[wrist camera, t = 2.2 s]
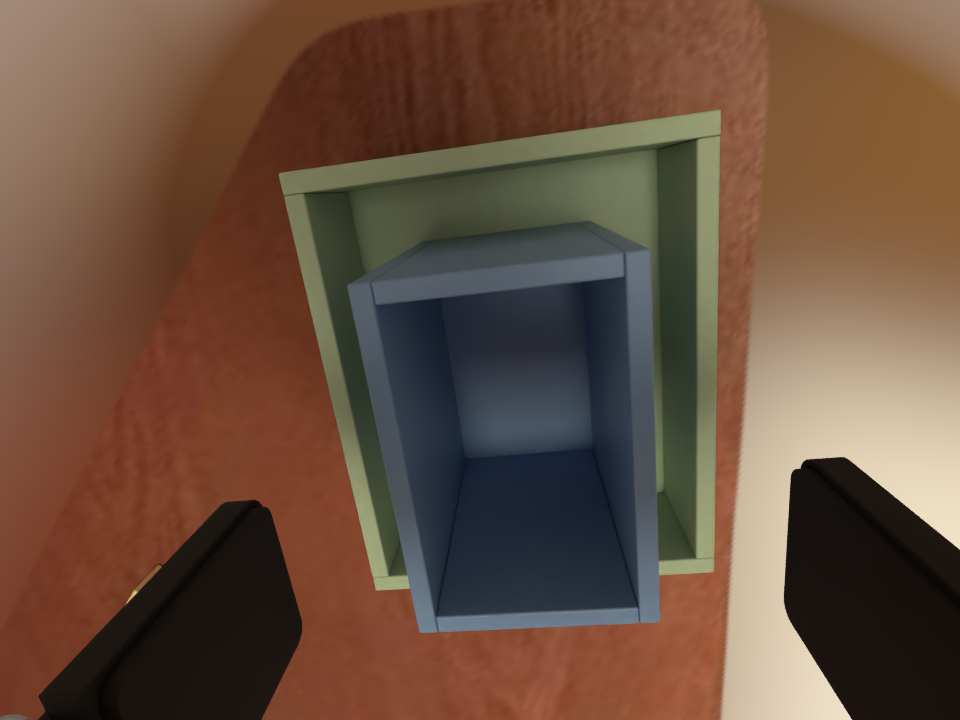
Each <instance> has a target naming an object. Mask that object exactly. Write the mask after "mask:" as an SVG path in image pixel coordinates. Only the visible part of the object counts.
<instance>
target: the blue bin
mask: <svg viewBox="0 0 960 720" xmlns="http://www.w3.org/2000/svg"><path fill="white" fill-rule="evenodd" d="M347 288H348V293H349V297H350V302H351V307H352V312H353V317H354V321H355V326H356V331H357V336H358V341H359V345H360V350H361V355H362V360H363V365H364V369H365V374H366V379H367V384H368V389H369V393H370V398H371V403H372V408H373V413H374V417H375V422H376V427H377V432H378V437H379V441H380V446H381V451H382V456H383V460H384V465H385V470H386V475H387V480H388V484H389V489H390V494H391V499H392V504H393V508H394V513H395V518H396V523H397V528H398V532H399V537H400V542H401V547H402V552H403V556H404V561H405V566H406V571H407V576H408V580H409V585H410V590H411V595H412V599H413V604H414V609H415V614H416V619H417V623H418V628H419V632H420V633H431V632H437V631H438V630H439V632H453V631H476V630H498V629H520V628H543V627H565V626H587V625H610V624H632V623H639V621H640V622H641V623H654V622H660V592H659V553H658V513H657V474H656V435H655V396H654V356H653V317H652V278H651V251H650V249H649V248H646V247H644V246H642V245H640V244H638V243H636V242H634V241H632V240H630V239H627V238H625V237H623V236H621V235H619V234H617V233H615V232H613V231H611V230H608V229H606V228H604V227H602V226H600V225H598V224H596V223H594V222H592V221H583V222H575V223H567V224H559V225H551V226H543V227H535V228H528V229H520V230H512V231H504V232H496V233H488V234H480V235H472V236H464V237H456V238H448V239H440V240H432V241H424V242H421V243H419V244H417V245H416V246H414V247H412V248H410V249H409V250H407V251H405V252H404V253H402V254H400V255H398V256H397V257H395V258H393V259H392V260H390V261H388V262H386V263H385V264H383V265H381V266H379V267H378V268H376V269H374V270H373V271H371V272H369V273H367V274H366V275H364V276H362V277H361V278H359V279H357V280H355V281H354V282H352V283H350V284H349V285H348V286H347Z"/></svg>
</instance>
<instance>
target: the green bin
mask: <svg viewBox="0 0 960 720" xmlns="http://www.w3.org/2000/svg"><path fill="white" fill-rule="evenodd" d="M720 133H721V111H720V110H713V111H706V112H699V113H692V114H685V115H678V116H671V117H664V118H657V119H650V120H643V121H637V122H630V123H623V124H616V125H609V126H602V127H595V128H588V129H581V130H574V131H567V132H560V133H553V134H546V135H540V136H533V137H526V138H519V139H512V140H505V141H498V142H491V143H484V144H477V145H470V146H463V147H456V148H449V149H443V150H436V151H429V152H422V153H415V154H408V155H401V156H394V157H387V158H380V159H373V160H366V161H359V162H352V163H346V164H339V165H332V166H325V167H318V168H311V169H304V170H297V171H290V172H283V173H279V179H280V183H281V187H282V191H283V195H285V196H284V200H285V204H286V208H287V212H288V217H289V221H290V225H291V229H292V234H293V238H294V242H295V247H296V251H297V255H298V259H299V264H300V268H301V272H302V276H303V281H304V285H305V289H306V293H307V298H308V302H309V306H310V311H311V315H312V319H313V323H314V328H315V332H316V336H317V340H318V345H319V349H320V353H321V358H322V362H323V366H324V370H325V375H326V379H327V383H328V387H329V392H330V396H331V400H332V405H333V409H334V413H335V417H336V422H337V426H338V430H339V434H340V439H341V443H342V447H343V452H344V456H345V460H346V464H347V469H348V473H349V477H350V481H351V486H352V490H353V494H354V499H355V503H356V507H357V511H358V516H359V520H360V524H361V528H362V533H363V537H364V541H365V546H366V550H367V554H368V558H369V563H370V567H371V571H372V575H373V579H374V583H375V588H376V590H394V589H410V585H409V580H408V576H407V571H406V566H405V561H404V556H403V552H402V547H401V542H400V537H399V532H398V528H397V523H396V518H395V513H394V508H393V504H392V499H391V494H390V489H389V484H388V480H387V475H386V470H385V465H384V460H383V456H382V451H381V446H380V441H379V437H378V432H377V427H376V422H375V417H374V413H373V408H372V403H371V398H370V393H369V389H368V384H367V379H366V374H365V369H364V365H363V360H362V355H361V350H360V345H359V341H358V336H357V331H356V326H355V321H354V317H353V312H352V307H351V302H350V297H349V293H348V288H347V286H348V285H349V284H350V283H352V282H354V281H355V280H357V279H359V278H361V277H362V276H364V275H366V274H367V273H369V272H371V271H373V270H374V269H376V268H378V267H379V266H381V265H383V264H385V263H386V262H388V261H390V260H392V259H393V258H395V257H397V256H398V255H400V254H402V253H404V252H405V251H407V250H409V249H410V248H412V247H414V246H416V245H417V244H419V243H421V242H424V241H432V240H440V239H448V238H456V237H464V236H472V235H480V234H488V233H496V232H504V231H512V230H520V229H528V228H535V227H543V226H551V225H559V224H567V223H575V222H583V221H592V222H594V223H596V224H598V225H600V226H602V227H604V228H606V229H608V230H611V231H613V232H615V233H617V234H619V235H621V236H623V237H625V238H627V239H630V240H632V241H634V242H636V243H638V244H640V245H642V246H644V247H646V248H649V249H650V251H651V278H652V317H653V356H654V396H655V435H656V474H657V513H658V553H659V575H671V574H690V573H708V572H713V571H714V558H713V557H714V528H715V459H716V389H717V320H718V251H719V181H720V137H719V136H718V135H720Z"/></svg>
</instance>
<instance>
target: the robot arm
mask: <svg viewBox="0 0 960 720" xmlns="http://www.w3.org/2000/svg"><path fill="white" fill-rule="evenodd" d="M784 604H785V609H786V612H787V615H788V617H789V620H790V622H791V623H792V625H793V627H794V628H795V630H796V631H797V633H798V634H799V636H800V638H801V639H802V641H803V642H804V644H805V645H806V647H807V649H808V650H809V652H810V654H811V655H812V657H813V658H814V660H815V662H816V663H817V665H818V666H819V668H820V669H821V671H822V672H823V674H824V676H825V677H826V679H827V680H828V682H829V683H830V685H831V687H832V688H833V690H834V692H835V693H836V695H837V696H838V698H839V700H840V701H841V703H842V704H843V706H844V707H845V709H846V711H847V712H848V714H849V715H850V717H851V719H852V720H960V550H959V549H958V548H957V547H956V546H954V545H953V544H952V543H951V542H949V541H948V540H947V539H946V538H945V537H943V536H942V535H941V534H939V533H938V532H937V531H936V530H935V529H933V528H932V527H931V526H930V525H929V524H927V523H926V522H925V521H923V520H922V519H921V518H920V517H919V516H917V515H916V514H915V513H914V512H913V511H911V510H910V509H909V508H908V507H906V506H905V505H904V504H903V503H901V502H900V501H899V500H898V499H896V498H895V497H894V496H893V495H891V494H890V493H889V492H888V491H887V490H885V489H884V488H883V487H882V486H880V485H879V484H878V483H877V482H875V481H874V480H873V479H872V478H870V477H869V476H868V475H867V474H866V473H864V472H863V471H862V470H860V469H859V468H858V467H857V466H856V465H855V464H853V463H852V462H851V461H850V460H848V459H846V458H844V457H838V458H837V457H836V458H823V459H810V460H805V461H804V462H803V463H802V465H801V469H795V470H794V471H793V472H792V474H791V484H790V501H789V518H788V535H787V552H786V570H785V586H784ZM301 634H302V620H301V616H300V613H299V609H298V606H297V602H296V599H295V595H294V592H293V588H292V585H291V581H290V578H289V574H288V571H287V567H286V564H285V560H284V557H283V553H282V550H281V546H280V543H279V539H278V536H277V532H276V529H275V525H274V522H273V518H272V515H271V512H270V510H269V509H268V508H266V507H262V505H261V504H260V502H259V501H256V500H248V501H234V502H226V503H224V504H222V505H221V506H220V507H219V508H218V509H217V510H216V511H215V512H214V513H213V514H212V515H211V516H210V517H209V518H208V519H207V520H206V521H205V522H204V523H203V524H202V526H201V527H200V528H199V529H198V530H197V531H196V532H195V533H194V534H193V535H192V536H191V537H190V538H189V539H188V540H187V541H186V542H185V543H184V544H183V545H182V546H181V547H180V549H179V550H178V551H177V552H176V553H175V554H174V555H173V556H172V557H171V558H170V559H169V560H168V561H167V562H166V563H165V564H164V565H163V566H162V567H161V568H160V569H159V570H158V572H157V573H156V574H155V575H154V576H153V577H152V578H151V579H150V580H149V581H148V582H147V583H146V584H145V585H144V586H143V587H142V588H141V589H140V590H139V591H138V592H137V593H136V594H135V596H134V597H133V598H132V599H131V600H130V601H129V602H128V603H127V604H126V605H125V606H124V607H123V608H122V609H121V610H120V611H119V612H118V613H117V614H116V615H115V616H114V617H113V619H112V620H111V621H110V622H109V623H108V624H107V625H106V626H105V627H104V628H103V629H102V630H101V631H100V632H99V633H98V634H97V635H96V636H95V637H94V638H93V639H92V640H91V641H90V643H89V644H88V645H87V646H86V647H85V648H84V649H83V650H82V651H81V652H80V653H79V654H78V655H77V656H76V657H75V658H74V659H73V660H72V661H71V662H70V663H69V664H68V666H67V667H66V668H65V669H64V670H63V671H62V672H61V673H60V674H59V675H58V676H57V677H56V678H55V679H54V680H53V681H52V682H51V683H50V684H49V685H48V686H47V687H46V688H45V690H44V691H43V692H42V693H41V694H40V695H39V698H40V700H41V702H42V704H43V706H44V708H45V710H46V712H45V713H44V714H43V715H42V716H41V717H40V718H39V719H38V720H261V719H262V717H263V715H264V713H265V711H266V709H267V707H268V705H269V703H270V701H271V699H272V697H273V695H274V693H275V691H276V689H277V686H278V684H279V682H280V680H281V678H282V676H283V674H284V672H285V670H286V668H287V666H288V664H289V662H290V660H291V658H292V656H293V654H294V652H295V650H296V648H297V646H298V644H299V641H300V638H301ZM0 720H30V719H29V718H28V717H26V716H25V715H13V714H10V715H6V716H1V717H0Z"/></svg>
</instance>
